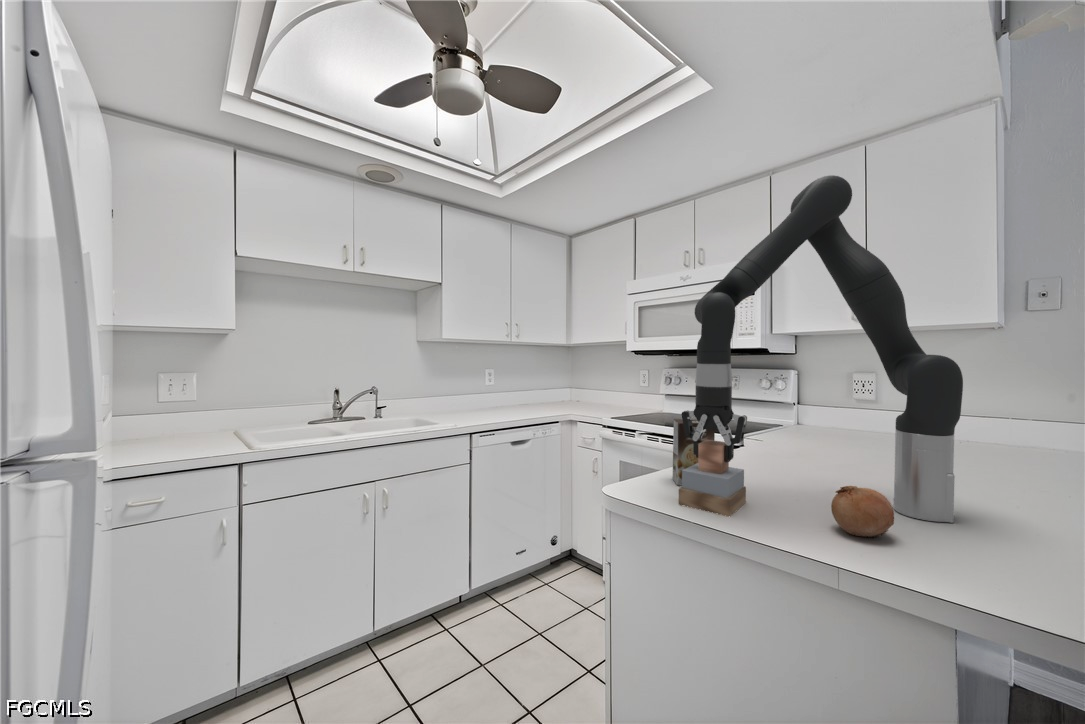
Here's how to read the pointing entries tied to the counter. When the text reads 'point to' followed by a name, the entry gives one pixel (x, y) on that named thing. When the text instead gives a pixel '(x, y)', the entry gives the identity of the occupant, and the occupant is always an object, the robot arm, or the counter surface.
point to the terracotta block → (712, 457)
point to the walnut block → (712, 501)
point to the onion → (862, 511)
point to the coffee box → (685, 448)
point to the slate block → (713, 481)
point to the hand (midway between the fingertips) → (712, 459)
